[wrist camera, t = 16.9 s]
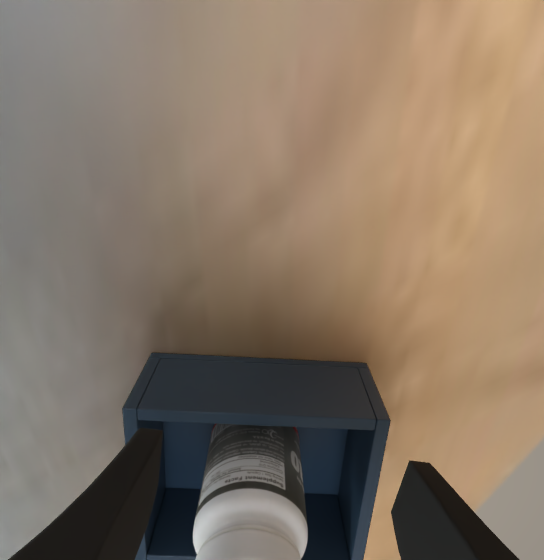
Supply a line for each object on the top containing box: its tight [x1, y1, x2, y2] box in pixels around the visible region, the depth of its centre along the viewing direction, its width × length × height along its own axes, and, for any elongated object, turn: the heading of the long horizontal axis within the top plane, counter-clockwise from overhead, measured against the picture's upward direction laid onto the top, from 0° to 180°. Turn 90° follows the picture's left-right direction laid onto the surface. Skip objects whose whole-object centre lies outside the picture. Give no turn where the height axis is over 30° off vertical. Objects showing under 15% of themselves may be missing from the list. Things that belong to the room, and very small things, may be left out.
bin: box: [122, 353, 391, 560], centre depth 21 cm, size 11×9×4 cm
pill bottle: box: [193, 424, 308, 560], centre depth 18 cm, size 5×5×8 cm
